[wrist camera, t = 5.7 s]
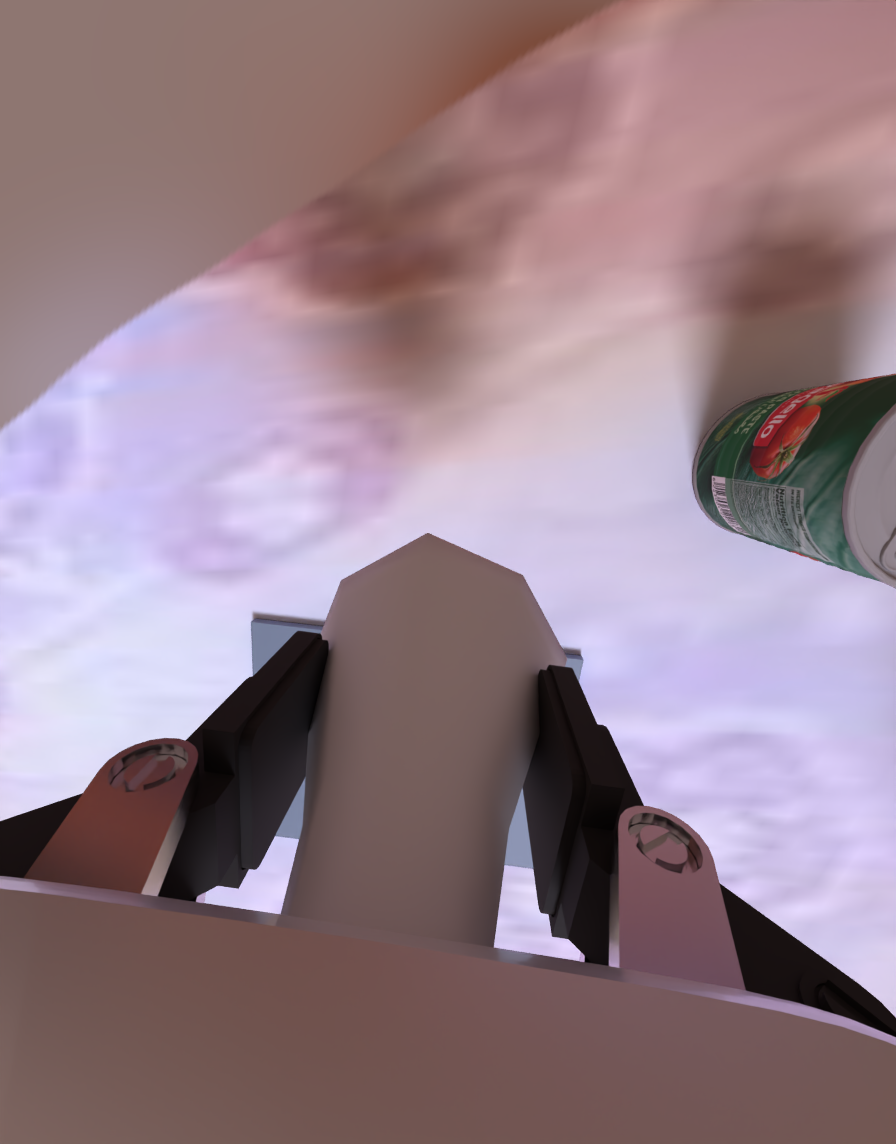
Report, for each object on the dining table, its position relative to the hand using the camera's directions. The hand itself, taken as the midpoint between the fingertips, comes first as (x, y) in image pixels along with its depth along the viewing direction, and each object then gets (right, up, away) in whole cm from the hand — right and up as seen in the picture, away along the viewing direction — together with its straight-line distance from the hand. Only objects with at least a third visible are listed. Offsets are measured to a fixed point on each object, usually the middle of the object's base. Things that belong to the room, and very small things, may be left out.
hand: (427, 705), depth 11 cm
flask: (0, +1, +3) cm, 3 cm away
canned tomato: (+19, +9, +14) cm, 25 cm away
